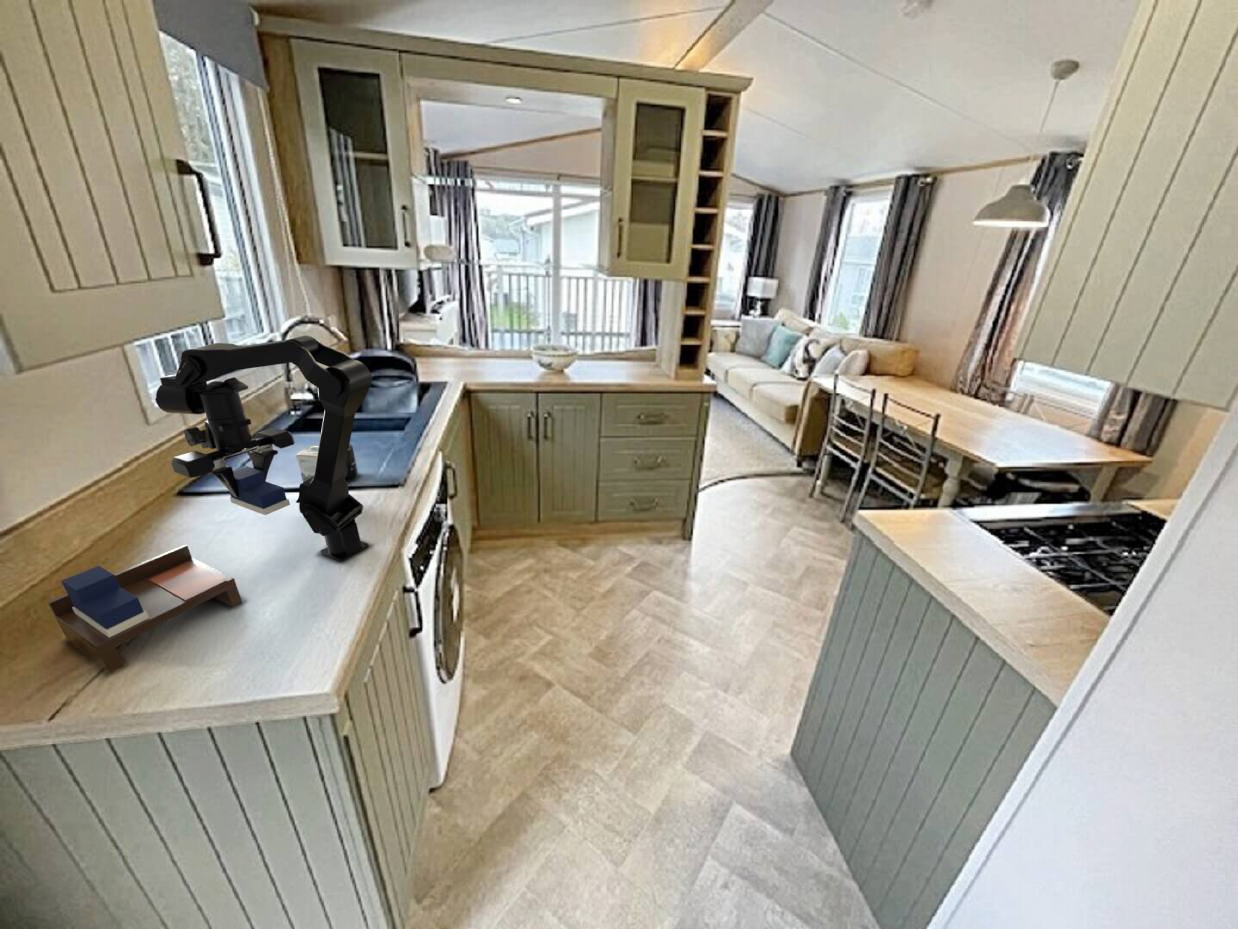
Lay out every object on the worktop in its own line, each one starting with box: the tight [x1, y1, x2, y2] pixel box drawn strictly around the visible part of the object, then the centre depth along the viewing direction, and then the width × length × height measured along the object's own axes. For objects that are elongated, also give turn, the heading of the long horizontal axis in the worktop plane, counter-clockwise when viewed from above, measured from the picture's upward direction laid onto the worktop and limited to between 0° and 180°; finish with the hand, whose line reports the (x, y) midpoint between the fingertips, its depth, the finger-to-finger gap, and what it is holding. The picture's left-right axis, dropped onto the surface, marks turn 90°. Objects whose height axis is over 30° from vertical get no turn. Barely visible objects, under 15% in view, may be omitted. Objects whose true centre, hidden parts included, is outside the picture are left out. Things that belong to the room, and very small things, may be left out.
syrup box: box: [295, 445, 319, 483], centre depth 117 cm, size 6×6×14 cm
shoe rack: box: [46, 544, 243, 674], centre depth 83 cm, size 14×18×7 cm
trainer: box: [228, 465, 291, 516], centre depth 100 cm, size 11×5×6 cm, turn 63°
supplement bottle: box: [344, 443, 359, 483], centre depth 132 cm, size 7×7×12 cm
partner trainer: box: [60, 565, 149, 638], centre depth 77 cm, size 11×5×6 cm, turn 62°
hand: (249, 491), depth 101 cm, fingers closed on trainer, 4 cm apart
